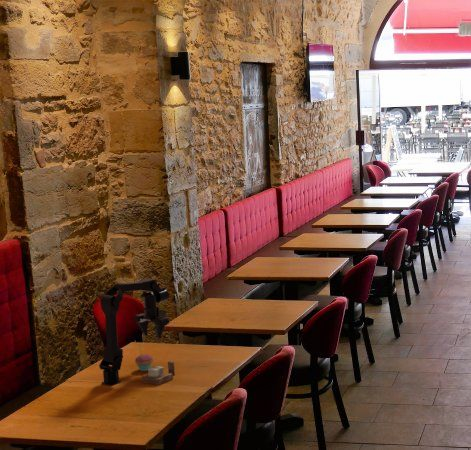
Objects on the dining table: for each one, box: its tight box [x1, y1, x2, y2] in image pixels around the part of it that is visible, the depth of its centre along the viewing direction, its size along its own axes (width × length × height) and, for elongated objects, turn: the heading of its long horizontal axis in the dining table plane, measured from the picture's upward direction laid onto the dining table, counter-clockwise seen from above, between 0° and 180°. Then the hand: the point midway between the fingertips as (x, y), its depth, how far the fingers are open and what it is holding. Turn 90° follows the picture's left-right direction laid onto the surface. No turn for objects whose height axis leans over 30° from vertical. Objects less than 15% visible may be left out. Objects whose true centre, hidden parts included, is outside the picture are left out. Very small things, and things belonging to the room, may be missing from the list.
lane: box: [141, 373, 174, 386], centre depth 393 cm, size 10×9×2 cm
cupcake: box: [134, 345, 154, 372], centre depth 410 cm, size 9×8×12 cm
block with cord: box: [147, 360, 176, 379], centre depth 396 cm, size 14×5×6 cm, turn 142°
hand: (152, 337), depth 413 cm, fingers open, 9 cm apart
